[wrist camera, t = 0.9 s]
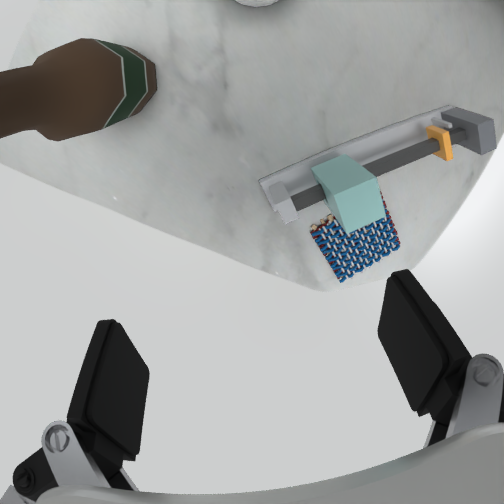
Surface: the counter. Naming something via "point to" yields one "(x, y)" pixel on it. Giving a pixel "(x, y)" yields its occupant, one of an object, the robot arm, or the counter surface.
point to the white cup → (256, 2)
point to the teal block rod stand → (382, 154)
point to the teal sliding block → (350, 192)
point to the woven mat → (355, 244)
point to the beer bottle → (75, 90)
